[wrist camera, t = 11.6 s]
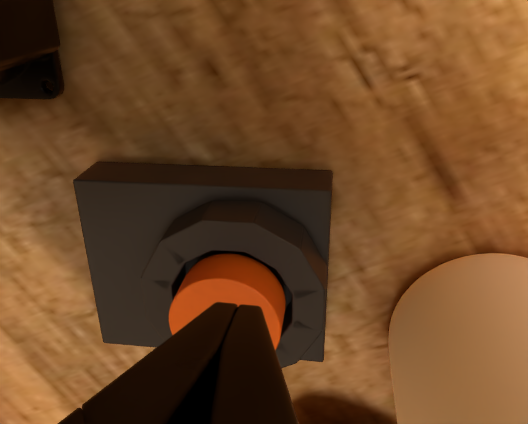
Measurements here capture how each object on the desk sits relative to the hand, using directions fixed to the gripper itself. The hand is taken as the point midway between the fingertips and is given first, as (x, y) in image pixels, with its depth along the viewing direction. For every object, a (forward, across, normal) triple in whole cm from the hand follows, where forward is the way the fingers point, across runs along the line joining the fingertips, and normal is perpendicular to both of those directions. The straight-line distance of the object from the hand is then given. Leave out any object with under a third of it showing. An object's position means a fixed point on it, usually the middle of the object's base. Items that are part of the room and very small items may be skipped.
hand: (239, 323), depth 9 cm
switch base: (+12, +3, +5) cm, 13 cm away
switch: (+8, +2, +5) cm, 10 cm away
